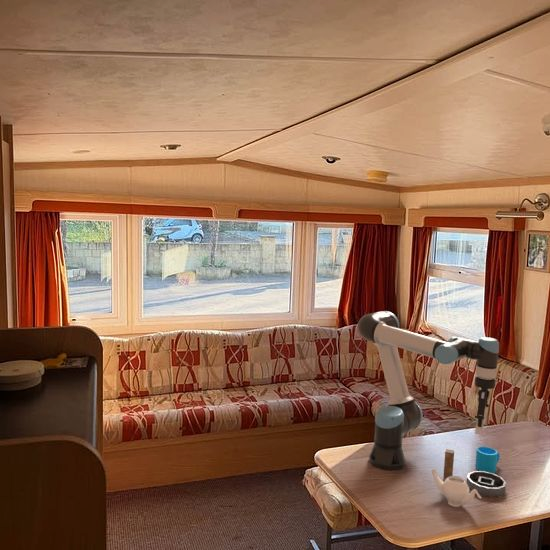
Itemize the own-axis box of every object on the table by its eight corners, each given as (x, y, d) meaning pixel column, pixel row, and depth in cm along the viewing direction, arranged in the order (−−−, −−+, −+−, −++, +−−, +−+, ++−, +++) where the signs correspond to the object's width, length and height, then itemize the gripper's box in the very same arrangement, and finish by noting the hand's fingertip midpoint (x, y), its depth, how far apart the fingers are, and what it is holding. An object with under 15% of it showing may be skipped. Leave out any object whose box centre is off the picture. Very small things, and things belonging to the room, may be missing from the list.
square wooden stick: (443, 482, 214) (445, 451, 213) (444, 479, 217) (446, 448, 215) (450, 484, 213) (452, 453, 211) (452, 481, 215) (454, 450, 214)
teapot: (473, 519, 188) (475, 494, 187) (423, 496, 203) (425, 473, 202) (486, 510, 194) (488, 486, 193) (437, 488, 209) (439, 466, 208)
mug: (486, 475, 222) (488, 456, 221) (471, 466, 229) (472, 448, 228) (506, 469, 227) (507, 451, 226) (490, 461, 234) (491, 443, 234)
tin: (464, 491, 208) (464, 482, 208) (469, 476, 220) (470, 468, 220) (503, 500, 201) (503, 492, 201) (506, 484, 214) (507, 476, 213)
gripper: (493, 387, 199) (488, 441, 202) (497, 370, 222) (492, 419, 224) (472, 383, 203) (467, 437, 205) (478, 367, 225) (473, 415, 228)
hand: (480, 428), depth 215 cm, fingers open, 13 cm apart
